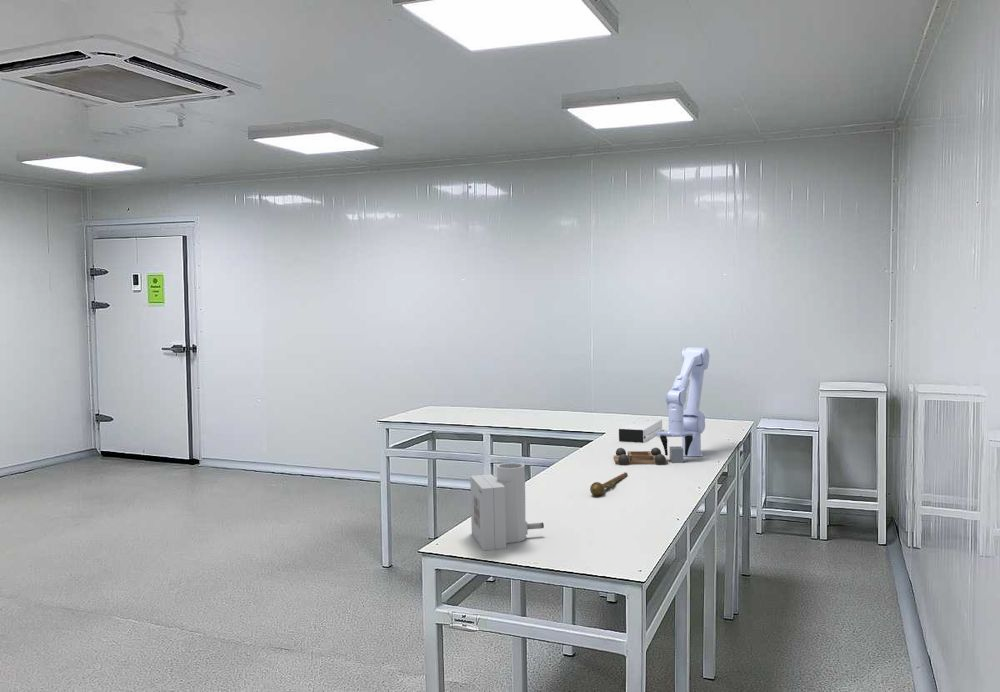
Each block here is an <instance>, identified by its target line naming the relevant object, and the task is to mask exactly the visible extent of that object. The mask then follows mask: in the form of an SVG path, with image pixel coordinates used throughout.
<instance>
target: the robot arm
mask: <svg viewBox="0 0 1000 692" xmlns="http://www.w3.org/2000/svg"><path fill="white" fill-rule="evenodd" d="M681 351H682V352H681V359H682V360H681V361H682V365H681V369H680V373H679V374H678V375H676V376H675V379H674V381H673V383H672V387H671V389H669V390H668V391H667V392H666V394H665V402H666V407H667V409H668V430H665V431H663V430H662V431H661V432H657V435H656V437H657V438H659V439H660V441H661V443H662V447H663V449H664V456H665V457H667V456H669V453H668V442H669V441H668V438H671V437H673V438H674V437H675V438H678V437H679V438H681V444H682V445H681V447H682V448H683V457H703V456H704V454H702V452H701V450H702V449H701V448H702V447H701V446H702V444H701V443H702V442H701V441H702V440H701V437H702V436H701V434H703V432H704V431H705V429H706V415H704V413H703V412H702V411H701V410H700V406H701V405H700V404H701V396H702V391H703V390H702V389H703V388H702V387H703V381H704V375H705V370H708V367H709V364H710V352H709V349H708V348H707V347H706V346H705V347H692V346H691V347H690V346H685V347H683V348H682V350H681ZM689 377H690V379H689ZM688 389H689V390H688ZM687 390H688V396H687ZM686 401H687V403H686ZM685 404H686V408H684V405H685Z"/></svg>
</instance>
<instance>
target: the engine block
mask: <svg viewBox="0 0 1000 692" xmlns="http://www.w3.org/2000/svg"><path fill="white" fill-rule="evenodd" d="M669 461H670V463H671V464H684V456H683V448H682V445H681V446H669Z"/></svg>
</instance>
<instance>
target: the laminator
mask: <svg viewBox="0 0 1000 692" xmlns="http://www.w3.org/2000/svg"><path fill="white" fill-rule="evenodd" d="M661 431H663V419H660V418H638V419H636V420H634V421H632V422H630V423H628V424H626V425H624V426H622V427H621V428H619V429H618V441H619V442H624V443H625V442H626V443H646V442H647V441H649V440H650V439H651V438H653V437H655V436H657V432H661Z"/></svg>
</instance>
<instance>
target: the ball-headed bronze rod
mask: <svg viewBox="0 0 1000 692" xmlns="http://www.w3.org/2000/svg"><path fill="white" fill-rule="evenodd" d="M628 476H629V475H628V472H626V471H624V472H623V473H621V474H619V475H617V476H616V477H613V478H612V479H609V480H608V481H606V482H604V483H601V482H599V481H596V482H593V483H592V484H591V485H590V486H589V487H590V489H589V490H590V493H591V494H592V496H593V497H601V496H603V495H604V493H605V489H608V488H611V487H614V485H615V484H616V483H617V482H618V481H619V482H620V480H622V479H624V478H626V477H628Z"/></svg>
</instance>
